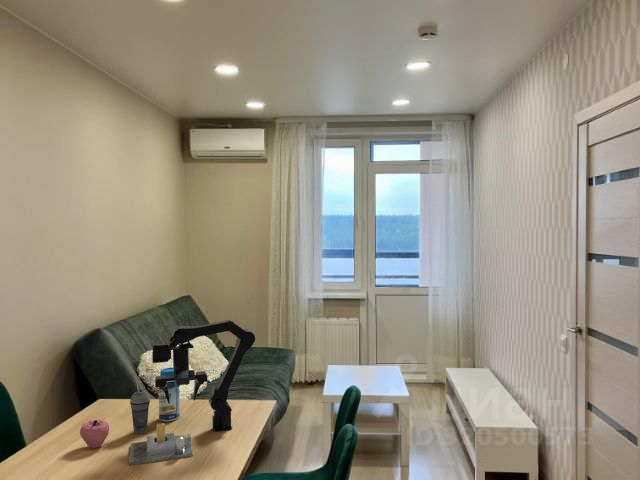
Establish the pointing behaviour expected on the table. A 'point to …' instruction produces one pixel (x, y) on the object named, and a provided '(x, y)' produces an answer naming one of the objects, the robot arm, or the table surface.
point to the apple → (94, 432)
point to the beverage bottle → (173, 409)
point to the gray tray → (160, 449)
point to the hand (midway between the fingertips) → (181, 401)
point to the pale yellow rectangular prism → (161, 432)
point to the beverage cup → (140, 410)
